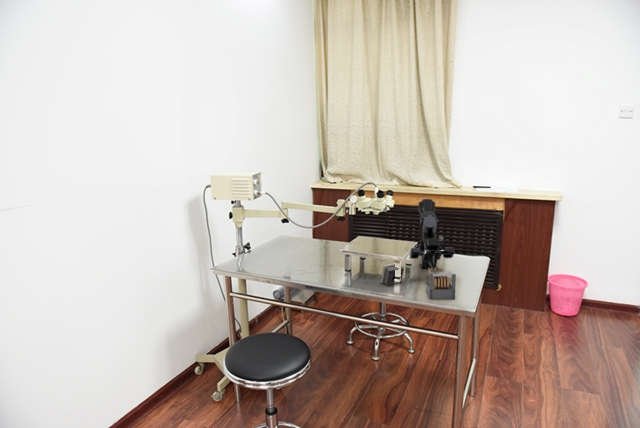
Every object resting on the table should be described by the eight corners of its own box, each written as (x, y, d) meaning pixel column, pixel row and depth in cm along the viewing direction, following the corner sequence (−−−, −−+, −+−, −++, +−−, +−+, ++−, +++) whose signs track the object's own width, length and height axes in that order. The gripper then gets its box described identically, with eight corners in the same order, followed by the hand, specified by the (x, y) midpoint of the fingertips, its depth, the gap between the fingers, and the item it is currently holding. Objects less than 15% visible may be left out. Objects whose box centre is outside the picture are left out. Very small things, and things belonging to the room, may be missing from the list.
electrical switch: (398, 279, 186) (399, 260, 183) (404, 284, 181) (405, 264, 179) (380, 283, 182) (381, 263, 179) (386, 287, 178) (387, 268, 175)
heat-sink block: (427, 284, 178) (427, 267, 176) (441, 284, 177) (441, 267, 176) (433, 297, 164) (434, 279, 162) (449, 297, 164) (449, 278, 162)
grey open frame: (425, 290, 171) (425, 267, 169) (449, 290, 170) (450, 267, 168) (429, 299, 163) (430, 274, 161) (455, 299, 162) (455, 274, 160)
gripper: (411, 230, 179) (414, 262, 170) (454, 229, 178) (460, 261, 169) (408, 242, 188) (411, 273, 180) (449, 242, 187) (454, 273, 178)
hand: (434, 270), depth 176 cm, fingers closed, pressing on heat-sink block
